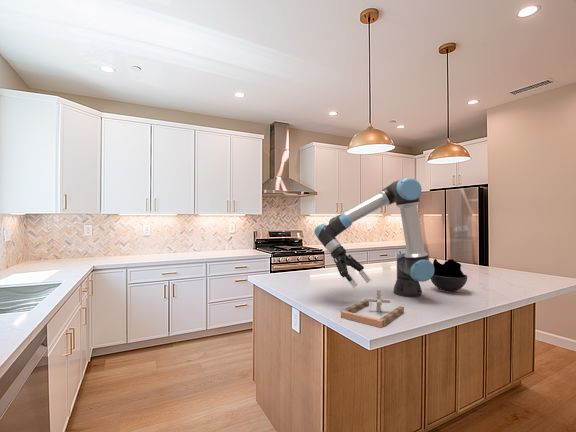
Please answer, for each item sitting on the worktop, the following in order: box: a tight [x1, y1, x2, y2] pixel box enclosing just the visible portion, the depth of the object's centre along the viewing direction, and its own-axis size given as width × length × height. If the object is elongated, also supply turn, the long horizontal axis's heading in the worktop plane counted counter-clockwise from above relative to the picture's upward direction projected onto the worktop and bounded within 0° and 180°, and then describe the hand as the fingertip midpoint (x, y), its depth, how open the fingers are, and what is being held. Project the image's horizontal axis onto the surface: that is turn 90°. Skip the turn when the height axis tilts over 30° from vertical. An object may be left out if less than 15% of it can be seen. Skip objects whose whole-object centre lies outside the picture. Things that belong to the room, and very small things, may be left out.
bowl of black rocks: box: [430, 258, 468, 293], centre depth 174 cm, size 20×20×19 cm
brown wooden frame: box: [341, 299, 405, 327], centre depth 132 cm, size 23×19×2 cm
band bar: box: [340, 310, 384, 328], centre depth 123 cm, size 2×18×2 cm, turn 49°
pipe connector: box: [366, 288, 391, 313], centre depth 136 cm, size 10×10×10 cm
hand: (362, 283), depth 141 cm, fingers open, 13 cm apart
